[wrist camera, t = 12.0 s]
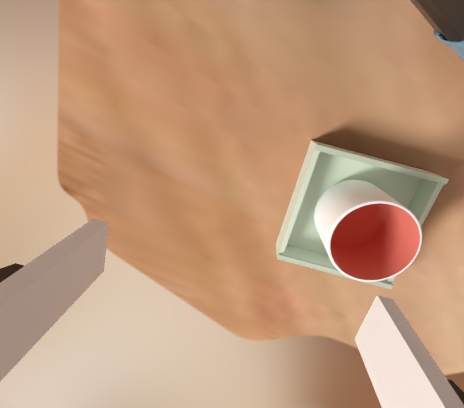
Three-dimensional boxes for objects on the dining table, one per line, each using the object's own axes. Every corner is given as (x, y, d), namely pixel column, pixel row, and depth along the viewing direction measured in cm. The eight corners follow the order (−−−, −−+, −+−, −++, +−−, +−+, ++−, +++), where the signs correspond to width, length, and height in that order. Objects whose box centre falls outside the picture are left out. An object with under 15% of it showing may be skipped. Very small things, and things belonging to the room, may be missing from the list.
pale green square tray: (311, 140, 39) (317, 144, 35) (428, 171, 39) (449, 179, 35) (275, 244, 45) (277, 258, 40) (378, 271, 44) (390, 289, 40)
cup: (400, 197, 40) (443, 226, 30) (358, 253, 43) (386, 295, 34) (336, 165, 39) (360, 184, 30) (299, 225, 43) (310, 259, 33)
